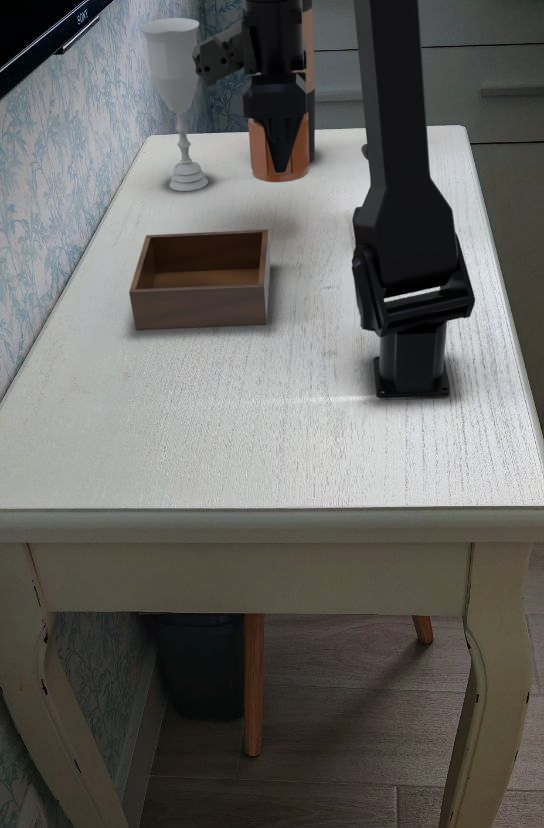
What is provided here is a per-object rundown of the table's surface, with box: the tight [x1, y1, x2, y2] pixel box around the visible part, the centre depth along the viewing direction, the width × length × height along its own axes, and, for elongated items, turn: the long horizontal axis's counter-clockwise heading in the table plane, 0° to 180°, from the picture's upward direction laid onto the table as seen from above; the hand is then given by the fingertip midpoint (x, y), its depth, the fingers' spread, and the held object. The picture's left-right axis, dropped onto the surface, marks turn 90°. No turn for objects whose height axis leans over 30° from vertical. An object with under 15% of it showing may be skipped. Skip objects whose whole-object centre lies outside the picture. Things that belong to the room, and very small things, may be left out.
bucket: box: [247, 113, 311, 183], centre depth 100 cm, size 6×6×6 cm
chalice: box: [139, 17, 209, 192], centre depth 114 cm, size 7×7×18 cm
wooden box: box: [128, 229, 272, 331], centre depth 95 cm, size 13×13×4 cm
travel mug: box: [254, 0, 316, 163], centre depth 117 cm, size 8×8×20 cm
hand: (281, 161), depth 101 cm, fingers closed on bucket, 6 cm apart
